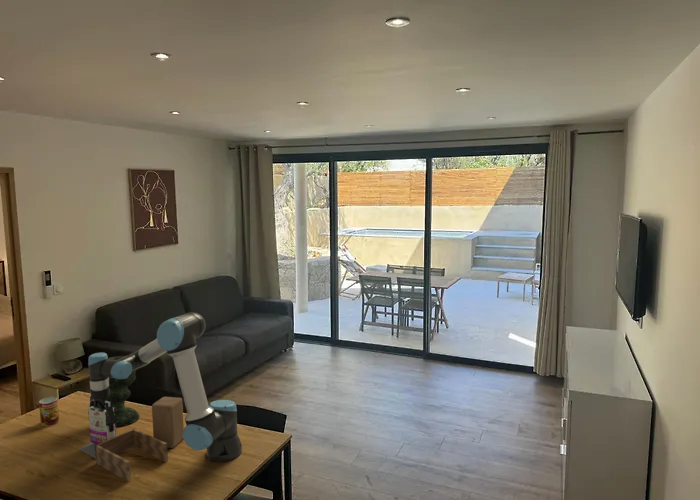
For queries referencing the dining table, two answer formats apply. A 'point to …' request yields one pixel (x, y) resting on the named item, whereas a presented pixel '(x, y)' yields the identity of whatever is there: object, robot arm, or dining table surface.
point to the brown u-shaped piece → (124, 442)
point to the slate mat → (89, 449)
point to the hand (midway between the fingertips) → (103, 434)
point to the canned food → (49, 411)
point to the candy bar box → (98, 425)
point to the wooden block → (168, 420)
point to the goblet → (122, 398)
